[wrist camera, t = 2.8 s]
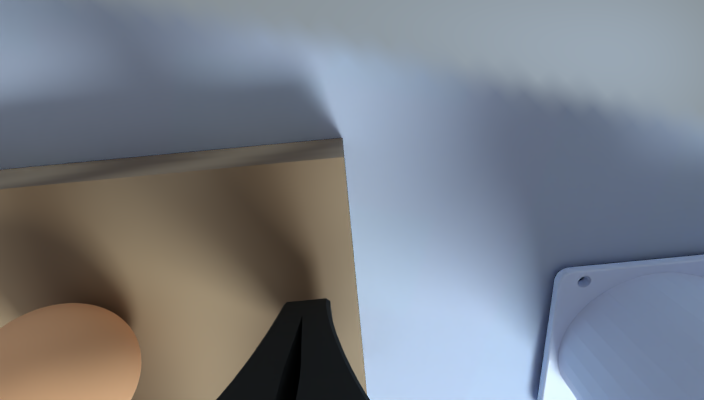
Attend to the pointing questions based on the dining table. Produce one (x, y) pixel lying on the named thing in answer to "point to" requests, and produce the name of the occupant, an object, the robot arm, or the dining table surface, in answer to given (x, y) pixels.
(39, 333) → the ball
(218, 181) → the deck
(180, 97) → the dining table surface
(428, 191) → the dining table surface
